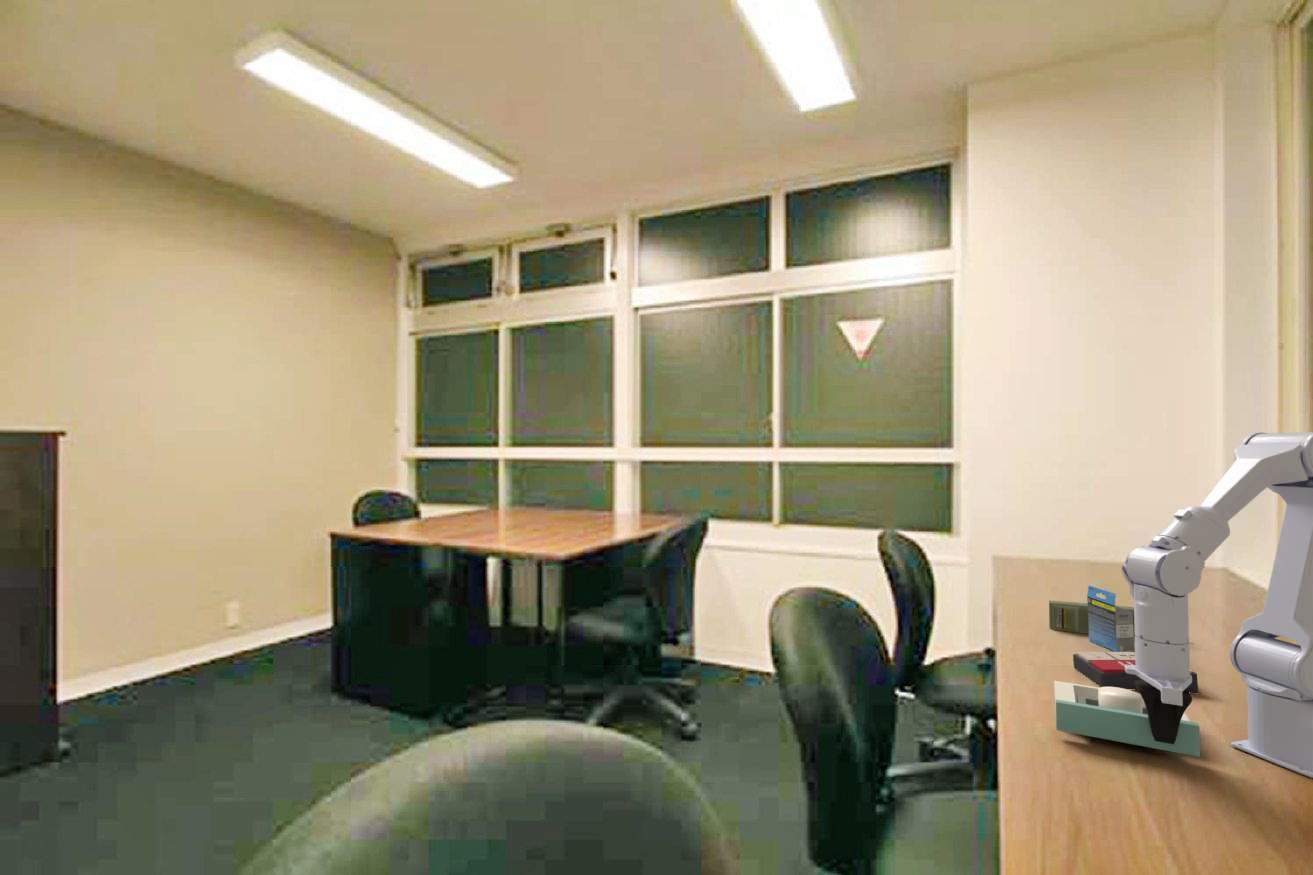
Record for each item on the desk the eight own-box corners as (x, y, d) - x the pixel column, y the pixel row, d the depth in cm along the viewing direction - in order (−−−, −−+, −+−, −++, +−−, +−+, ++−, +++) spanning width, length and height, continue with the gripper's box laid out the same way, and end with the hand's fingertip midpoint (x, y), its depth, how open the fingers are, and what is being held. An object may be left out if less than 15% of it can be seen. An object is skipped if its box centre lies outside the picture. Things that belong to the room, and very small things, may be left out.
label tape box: (1135, 653, 130) (1134, 593, 130) (1115, 653, 130) (1114, 593, 130) (1105, 640, 139) (1104, 584, 139) (1086, 640, 139) (1085, 584, 139)
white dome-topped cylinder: (1152, 726, 91) (1151, 698, 91) (1123, 730, 90) (1122, 701, 90) (1118, 711, 96) (1117, 685, 96) (1089, 715, 95) (1089, 688, 95)
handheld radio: (1048, 627, 150) (1182, 640, 139) (1050, 631, 147) (1187, 645, 136) (1048, 599, 150) (1182, 609, 139) (1050, 602, 147) (1186, 614, 136)
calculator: (1071, 649, 122) (1159, 649, 120) (1073, 672, 122) (1161, 672, 120) (1100, 668, 111) (1198, 669, 109) (1102, 693, 111) (1200, 694, 109)
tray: (1054, 703, 102) (1054, 678, 102) (1183, 725, 94) (1182, 697, 94) (1056, 730, 92) (1056, 702, 92) (1200, 757, 84) (1199, 726, 84)
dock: (1054, 701, 105) (1054, 680, 106) (1178, 722, 97) (1177, 699, 97) (1056, 726, 96) (1055, 703, 96) (1193, 751, 88) (1192, 726, 88)
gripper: (1118, 621, 94) (1120, 714, 93) (1131, 648, 81) (1133, 756, 81) (1179, 628, 90) (1182, 725, 90) (1203, 657, 77) (1205, 770, 77)
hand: (1163, 740), depth 85 cm, fingers closed
